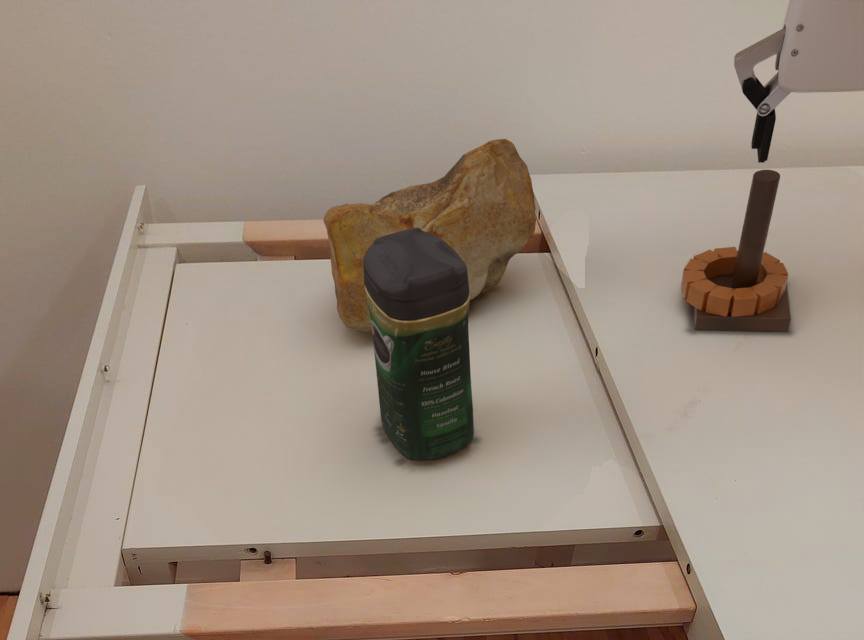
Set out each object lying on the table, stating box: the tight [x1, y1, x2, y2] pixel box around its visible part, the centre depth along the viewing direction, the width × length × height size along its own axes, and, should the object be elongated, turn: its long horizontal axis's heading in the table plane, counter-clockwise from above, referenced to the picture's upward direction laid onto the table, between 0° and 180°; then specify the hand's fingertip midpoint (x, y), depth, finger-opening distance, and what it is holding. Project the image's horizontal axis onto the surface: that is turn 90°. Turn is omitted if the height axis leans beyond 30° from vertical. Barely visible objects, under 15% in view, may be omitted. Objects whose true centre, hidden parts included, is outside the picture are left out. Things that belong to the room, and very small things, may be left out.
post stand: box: [693, 169, 792, 333], centre depth 92 cm, size 9×9×14 cm
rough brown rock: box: [323, 138, 537, 335], centre depth 100 cm, size 23×17×15 cm
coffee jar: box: [363, 228, 475, 462], centre depth 82 cm, size 10×8×19 cm
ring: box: [680, 246, 789, 317], centre depth 96 cm, size 10×10×2 cm
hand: (817, 155), depth 85 cm, fingers open, 9 cm apart
